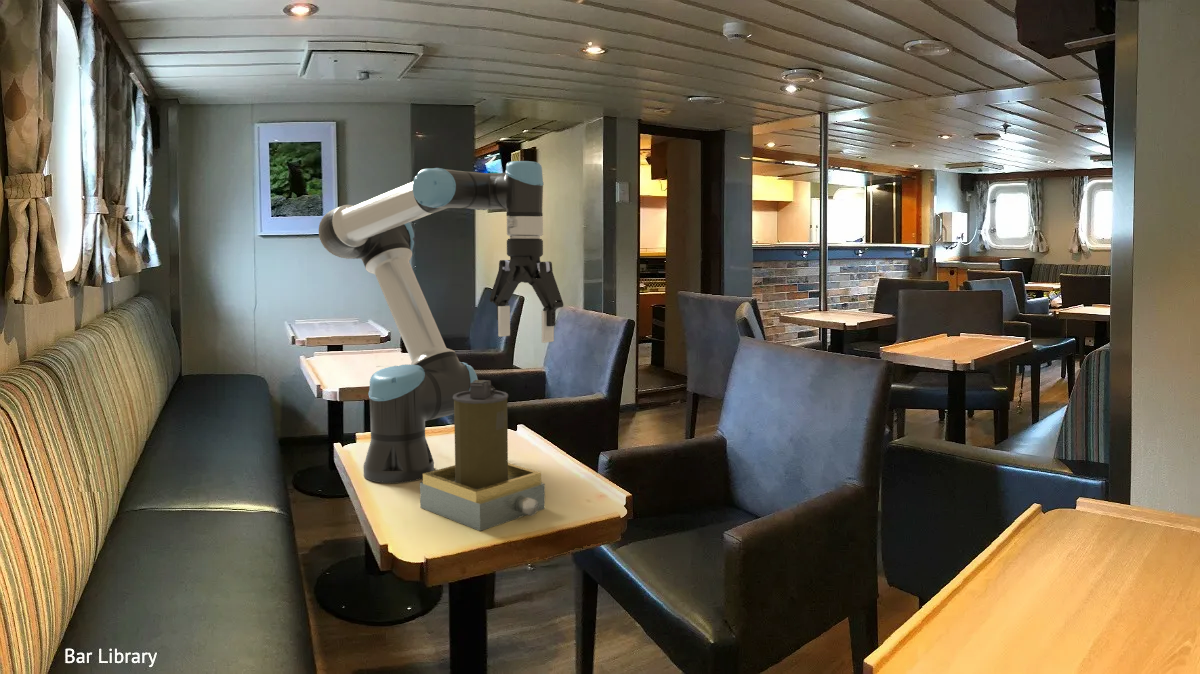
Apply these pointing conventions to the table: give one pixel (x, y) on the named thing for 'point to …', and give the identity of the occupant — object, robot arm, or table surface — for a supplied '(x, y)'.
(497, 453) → the canister
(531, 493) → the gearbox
